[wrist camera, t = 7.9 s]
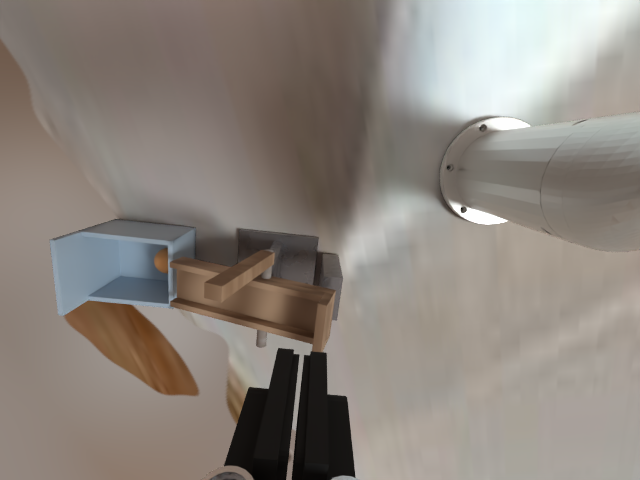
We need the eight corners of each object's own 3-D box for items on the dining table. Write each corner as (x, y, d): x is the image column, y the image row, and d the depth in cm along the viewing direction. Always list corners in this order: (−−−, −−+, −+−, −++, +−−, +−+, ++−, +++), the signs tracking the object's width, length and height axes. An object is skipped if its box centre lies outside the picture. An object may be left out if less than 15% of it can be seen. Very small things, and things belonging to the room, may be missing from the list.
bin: (195, 227, 39) (156, 251, 30) (195, 285, 41) (158, 324, 32) (115, 219, 39) (49, 239, 29) (119, 277, 41) (58, 315, 31)
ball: (187, 246, 39) (174, 253, 36) (187, 269, 40) (174, 279, 37) (163, 243, 39) (148, 250, 36) (163, 266, 40) (148, 275, 37)
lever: (339, 263, 29) (309, 307, 20) (326, 359, 31) (294, 436, 22) (183, 232, 33) (98, 257, 24) (183, 320, 35) (107, 372, 26)
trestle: (339, 239, 40) (346, 263, 31) (331, 302, 42) (335, 341, 33) (240, 228, 39) (218, 249, 31) (237, 293, 42) (216, 330, 33)
